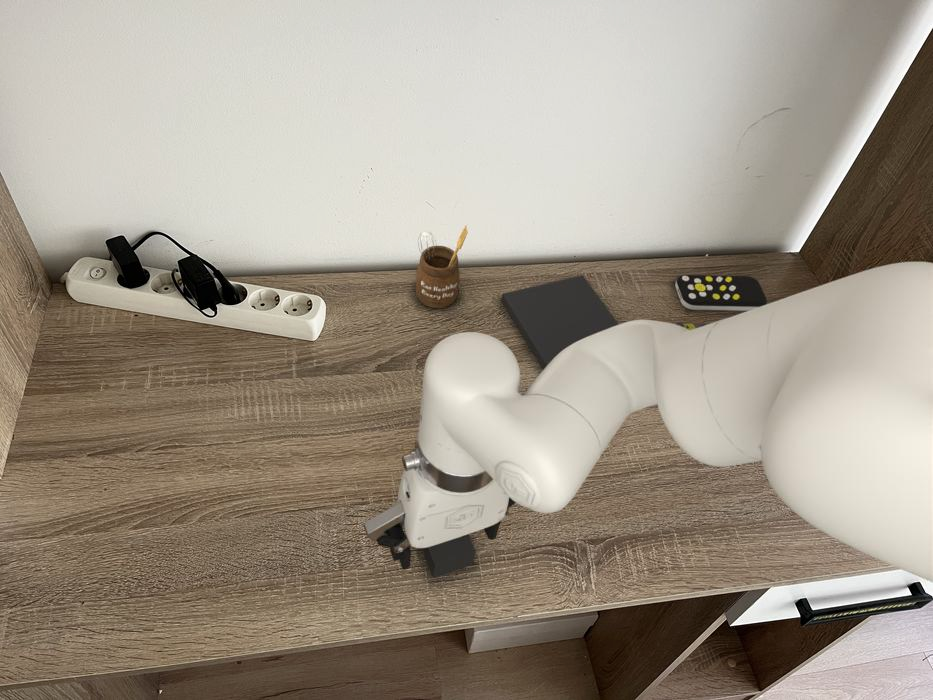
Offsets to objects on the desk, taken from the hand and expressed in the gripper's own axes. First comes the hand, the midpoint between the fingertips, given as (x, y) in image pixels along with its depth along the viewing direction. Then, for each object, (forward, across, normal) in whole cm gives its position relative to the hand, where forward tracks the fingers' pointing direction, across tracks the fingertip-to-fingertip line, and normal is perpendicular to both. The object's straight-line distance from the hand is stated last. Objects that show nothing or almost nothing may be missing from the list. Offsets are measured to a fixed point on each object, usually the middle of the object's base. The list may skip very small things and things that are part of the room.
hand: (444, 541), depth 79 cm
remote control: (+2, +53, +24) cm, 58 cm away
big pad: (+2, +28, +22) cm, 36 cm away
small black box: (+2, 0, 0) cm, 2 cm away
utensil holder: (+2, +14, +36) cm, 39 cm away
